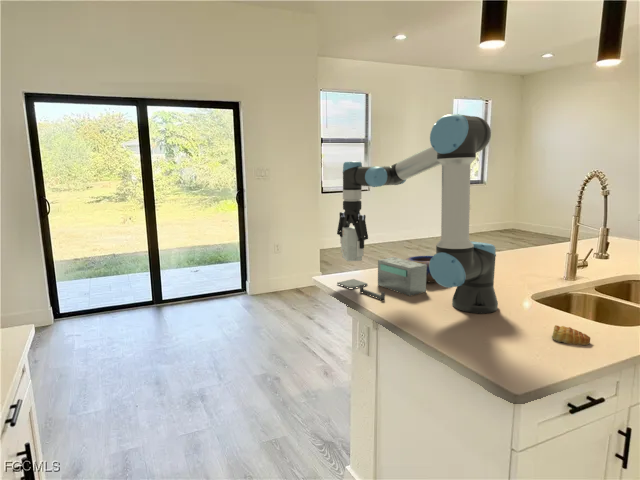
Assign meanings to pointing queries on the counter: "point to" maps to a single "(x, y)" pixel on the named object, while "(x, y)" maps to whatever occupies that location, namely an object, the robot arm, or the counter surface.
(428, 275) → the bowl
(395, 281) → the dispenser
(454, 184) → the robot arm
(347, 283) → the coaster
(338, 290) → the counter surface
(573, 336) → the pastry
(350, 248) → the small box
